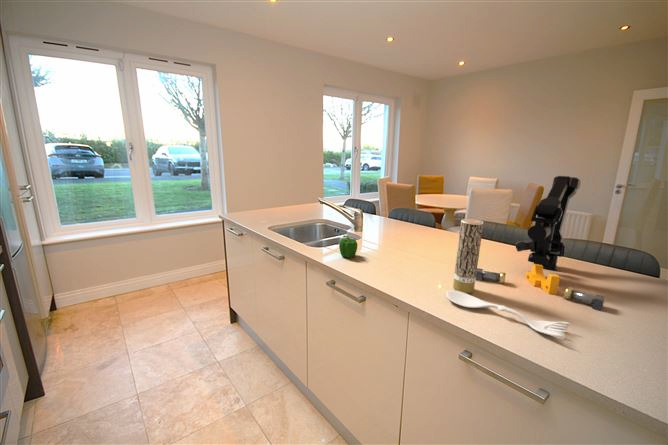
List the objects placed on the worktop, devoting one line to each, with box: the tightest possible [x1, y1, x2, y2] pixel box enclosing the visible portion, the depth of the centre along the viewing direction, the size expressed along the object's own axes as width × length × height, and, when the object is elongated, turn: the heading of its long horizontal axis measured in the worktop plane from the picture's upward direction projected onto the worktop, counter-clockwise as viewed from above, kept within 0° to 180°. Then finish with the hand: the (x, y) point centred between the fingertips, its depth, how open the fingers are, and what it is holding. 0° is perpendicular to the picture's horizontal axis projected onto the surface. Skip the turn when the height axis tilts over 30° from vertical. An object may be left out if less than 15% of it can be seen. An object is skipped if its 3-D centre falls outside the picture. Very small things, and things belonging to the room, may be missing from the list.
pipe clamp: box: [525, 263, 561, 295], centre depth 107 cm, size 12×4×6 cm, turn 173°
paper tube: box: [452, 218, 484, 294], centre depth 101 cm, size 7×7×25 cm
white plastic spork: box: [445, 289, 571, 340], centre depth 87 cm, size 9×32×4 cm, turn 45°
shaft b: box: [475, 267, 506, 285], centre depth 111 cm, size 10×4×4 cm, turn 62°
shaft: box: [563, 286, 606, 312], centre depth 95 cm, size 10×4×4 cm, turn 42°
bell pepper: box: [338, 235, 358, 259], centre depth 135 cm, size 8×8×10 cm
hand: (536, 274), depth 115 cm, fingers closed
